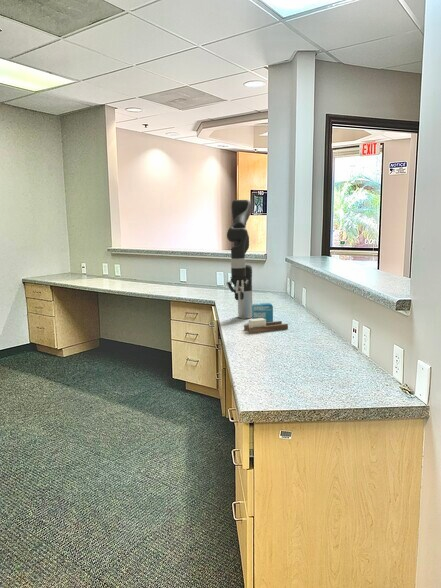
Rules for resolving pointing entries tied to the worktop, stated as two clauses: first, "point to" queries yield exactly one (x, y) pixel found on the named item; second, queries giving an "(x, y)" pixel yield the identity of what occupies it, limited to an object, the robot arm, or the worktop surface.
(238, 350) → the worktop surface
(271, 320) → the blue labeled box
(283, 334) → the worktop surface
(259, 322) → the sand block
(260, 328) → the walnut chute
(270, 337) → the worktop surface
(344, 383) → the worktop surface
